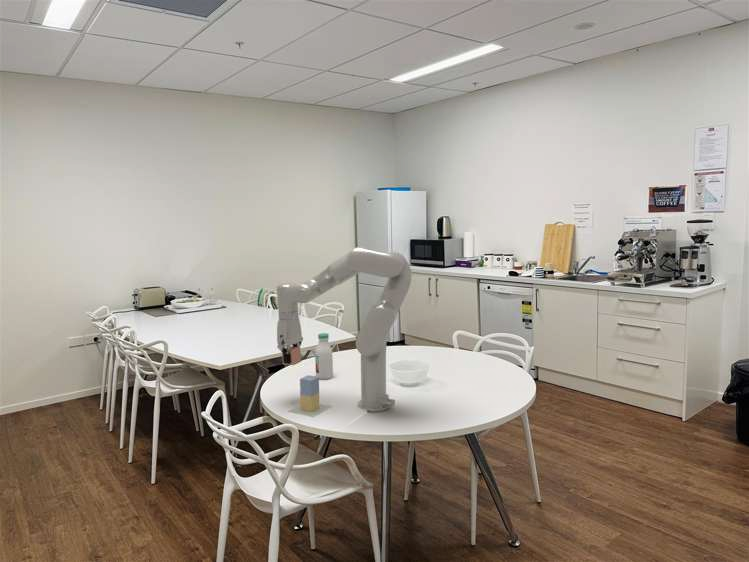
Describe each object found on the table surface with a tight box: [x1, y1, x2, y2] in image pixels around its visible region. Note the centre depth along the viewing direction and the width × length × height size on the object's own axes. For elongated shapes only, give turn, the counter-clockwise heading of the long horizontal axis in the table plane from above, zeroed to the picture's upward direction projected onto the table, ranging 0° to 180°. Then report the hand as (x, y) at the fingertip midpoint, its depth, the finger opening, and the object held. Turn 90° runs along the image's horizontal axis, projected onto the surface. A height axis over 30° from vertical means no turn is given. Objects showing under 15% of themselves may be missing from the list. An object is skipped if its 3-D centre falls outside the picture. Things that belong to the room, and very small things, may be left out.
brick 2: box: [299, 374, 320, 396], centre depth 203 cm, size 5×5×6 cm
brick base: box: [299, 392, 320, 412], centre depth 204 cm, size 5×5×6 cm
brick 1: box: [281, 345, 302, 366], centre depth 211 cm, size 5×5×6 cm
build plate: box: [287, 403, 333, 418], centre depth 205 cm, size 12×12×1 cm
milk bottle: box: [314, 332, 334, 380], centre depth 245 cm, size 8×8×20 cm
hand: (291, 361), depth 212 cm, fingers closed on brick 1, 5 cm apart
